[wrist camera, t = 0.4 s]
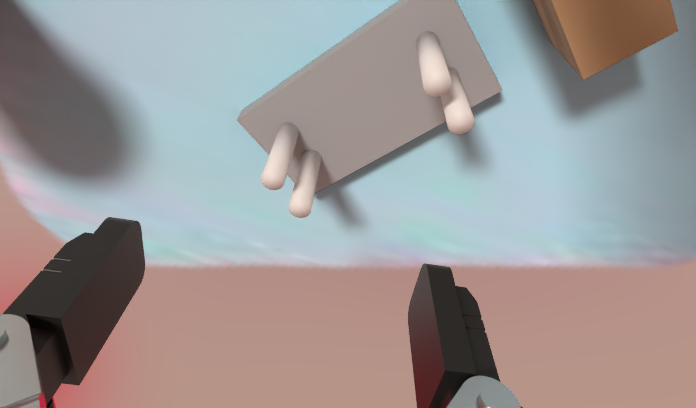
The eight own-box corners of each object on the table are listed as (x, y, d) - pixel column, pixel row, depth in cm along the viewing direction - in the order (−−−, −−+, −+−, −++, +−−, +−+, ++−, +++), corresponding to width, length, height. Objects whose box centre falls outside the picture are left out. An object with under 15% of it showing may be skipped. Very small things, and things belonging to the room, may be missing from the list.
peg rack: (441, -29, 26) (458, 6, 20) (497, 80, 30) (526, 137, 24) (242, 110, 32) (211, 167, 26) (310, 185, 36) (296, 250, 30)
